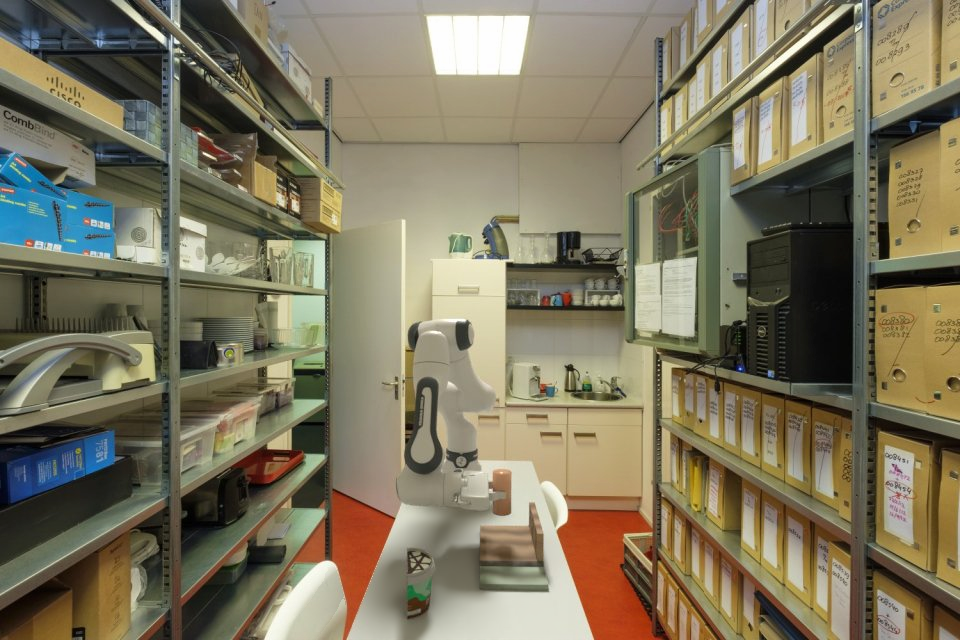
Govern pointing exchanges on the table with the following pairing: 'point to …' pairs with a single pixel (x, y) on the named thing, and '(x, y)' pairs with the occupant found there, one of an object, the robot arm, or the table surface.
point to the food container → (418, 581)
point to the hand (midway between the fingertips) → (505, 490)
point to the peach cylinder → (502, 483)
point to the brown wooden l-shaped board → (513, 555)
